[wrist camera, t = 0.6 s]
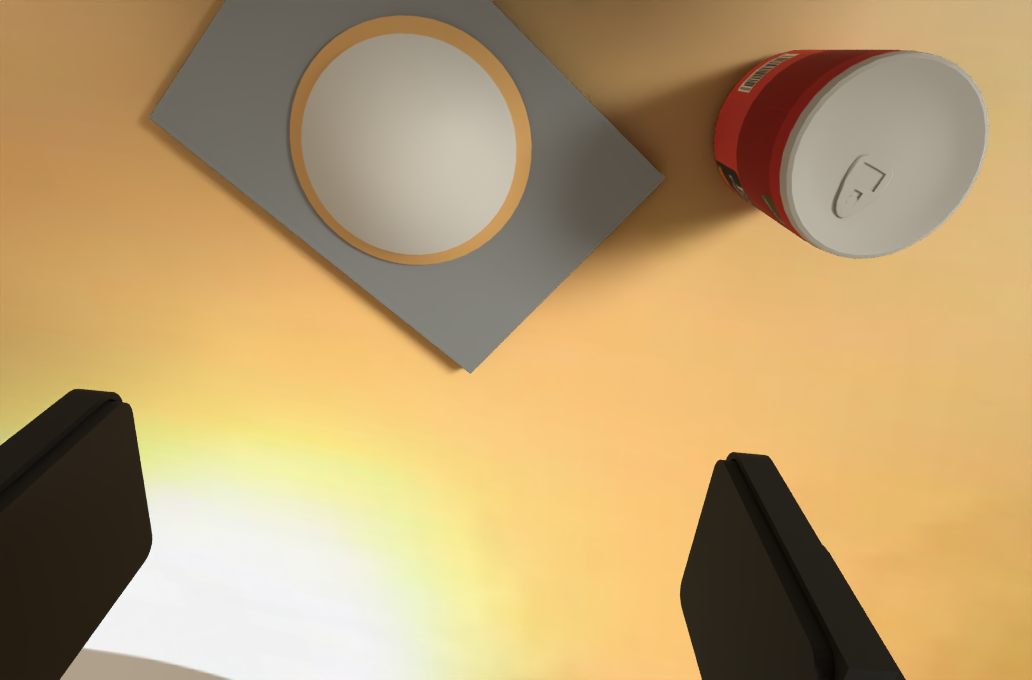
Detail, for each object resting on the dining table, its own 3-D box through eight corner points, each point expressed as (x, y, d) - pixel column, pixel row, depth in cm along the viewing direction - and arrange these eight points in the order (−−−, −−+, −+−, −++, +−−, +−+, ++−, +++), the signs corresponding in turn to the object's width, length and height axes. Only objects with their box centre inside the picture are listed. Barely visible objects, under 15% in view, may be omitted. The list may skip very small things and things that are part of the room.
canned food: (689, 187, 37) (756, 241, 26) (738, 33, 33) (835, 27, 23) (818, 215, 37) (931, 278, 27) (878, 66, 34) (1031, 75, 24)
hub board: (338, -155, 30) (325, -169, 28) (660, 174, 36) (669, 182, 34) (160, 115, 35) (138, 119, 33) (471, 364, 41) (469, 381, 39)
